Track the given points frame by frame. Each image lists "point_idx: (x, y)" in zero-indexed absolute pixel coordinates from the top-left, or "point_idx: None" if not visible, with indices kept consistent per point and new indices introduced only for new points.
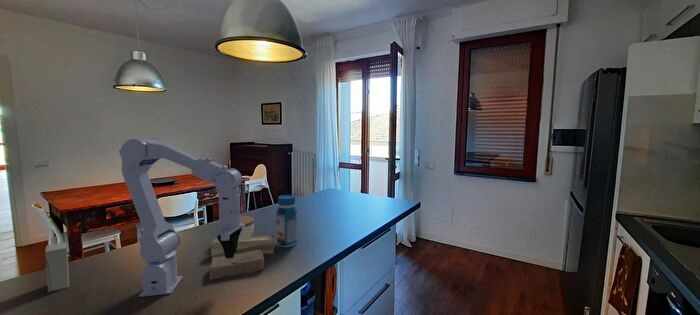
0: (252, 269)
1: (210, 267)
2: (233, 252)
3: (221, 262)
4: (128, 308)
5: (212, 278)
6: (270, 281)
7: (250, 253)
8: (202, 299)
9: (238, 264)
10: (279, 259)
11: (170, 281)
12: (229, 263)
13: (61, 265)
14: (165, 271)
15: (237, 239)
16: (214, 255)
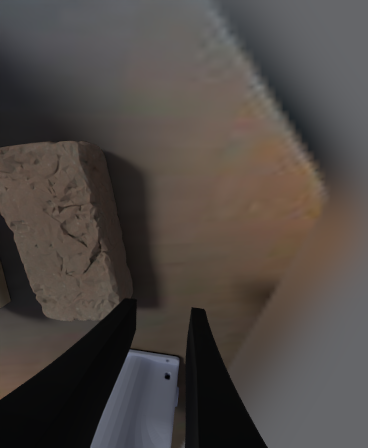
0: (108, 188)
1: None
2: (212, 340)
3: (88, 295)
4: None
5: (132, 291)
6: (192, 123)
7: (17, 201)
8: (225, 302)
9: (104, 242)
10: (18, 76)
11: (154, 378)
12: (96, 271)
13: None
14: (169, 434)
15: (77, 388)
16: (1, 299)
